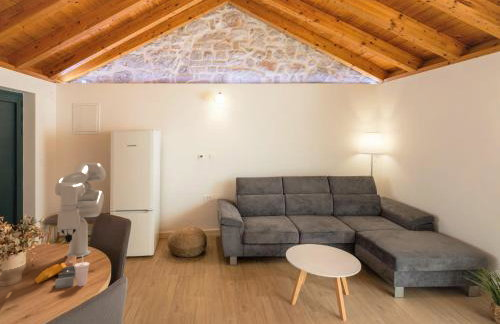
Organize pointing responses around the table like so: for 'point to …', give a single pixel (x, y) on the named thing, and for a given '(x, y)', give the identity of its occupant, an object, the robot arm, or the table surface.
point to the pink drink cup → (81, 272)
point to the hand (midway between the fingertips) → (68, 241)
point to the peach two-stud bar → (70, 261)
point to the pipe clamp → (50, 272)
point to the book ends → (65, 277)
